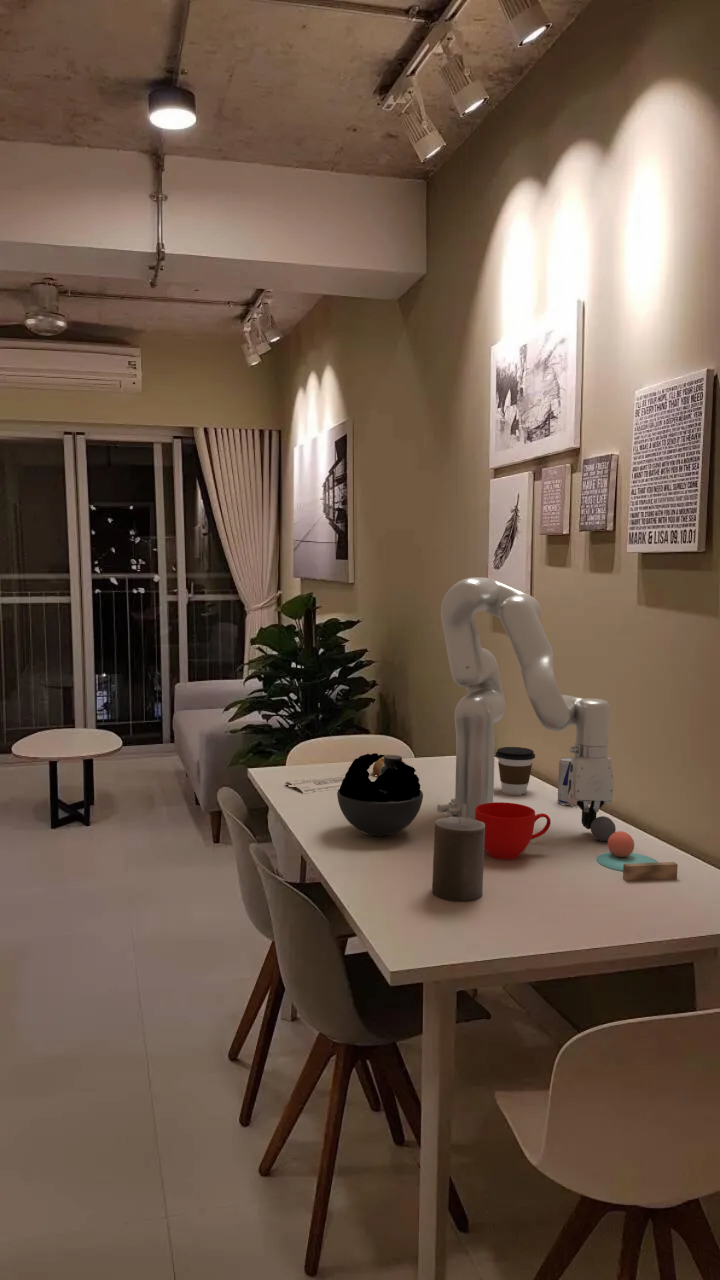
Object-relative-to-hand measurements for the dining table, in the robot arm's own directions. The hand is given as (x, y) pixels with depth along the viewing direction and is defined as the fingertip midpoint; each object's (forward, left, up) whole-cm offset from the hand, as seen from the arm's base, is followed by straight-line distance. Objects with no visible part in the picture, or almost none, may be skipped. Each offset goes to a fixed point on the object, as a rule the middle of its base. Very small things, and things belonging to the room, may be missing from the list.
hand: (588, 827), depth 215 cm
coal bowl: (-47, +17, -2) cm, 50 cm away
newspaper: (-41, +66, -3) cm, 78 cm away
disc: (-5, -20, -2) cm, 21 cm away
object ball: (-4, -17, +1) cm, 17 cm away
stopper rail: (-8, -30, -2) cm, 31 cm away
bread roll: (-18, +71, -2) cm, 73 cm away
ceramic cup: (-26, -7, -2) cm, 27 cm away
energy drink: (+12, +24, -2) cm, 27 cm away
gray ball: (0, -6, +1) cm, 6 cm away
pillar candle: (-49, -23, -2) cm, 54 cm away
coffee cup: (+5, +39, -2) cm, 40 cm away
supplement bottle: (-31, +43, -2) cm, 53 cm away
